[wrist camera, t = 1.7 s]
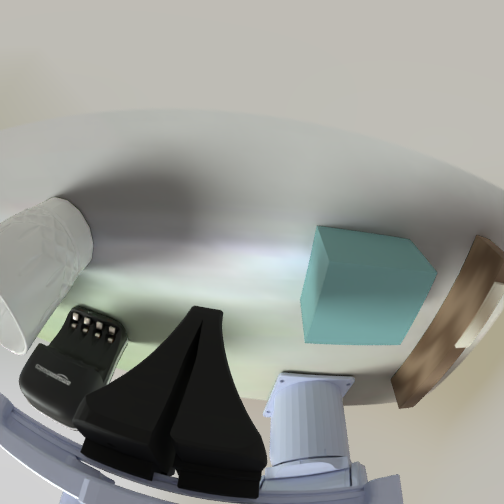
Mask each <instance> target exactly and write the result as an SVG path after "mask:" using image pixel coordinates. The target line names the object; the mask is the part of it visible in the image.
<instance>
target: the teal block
mask: <svg viewBox="0 0 504 504" xmlns="http://www.w3.org/2000/svg"><path fill="white" fill-rule="evenodd" d="M436 275H437V272H436V270H435V269H434V268H433V267H432V265H431V264H430V263H429V262H428V261H427V259H426V258H425V257H424V256H423V254H422V253H421V252H420V251H419V250H418V249H417V247H416V246H415V245H414V244H413V243H412V242H411V240H410V239H405V238H399V237H392V236H386V235H379V234H373V233H366V232H359V231H352V230H345V229H338V228H331V227H323V226H317V228H316V233H315V237H314V242H313V247H312V251H311V256H310V260H309V265H308V269H307V274H306V278H305V282H304V286H303V290H302V294H301V299H300V303H301V311H302V320H303V329H304V339H305V343H314V344H337V345H400V344H401V342H402V341H403V339H404V337H405V336H406V334H407V332H408V330H409V329H410V327H411V325H412V323H413V321H414V320H415V318H416V316H417V314H418V312H419V310H420V308H421V306H422V305H423V303H424V301H425V299H426V297H427V294H428V292H429V290H430V288H431V286H432V284H433V282H434V280H435V277H436Z"/></svg>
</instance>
